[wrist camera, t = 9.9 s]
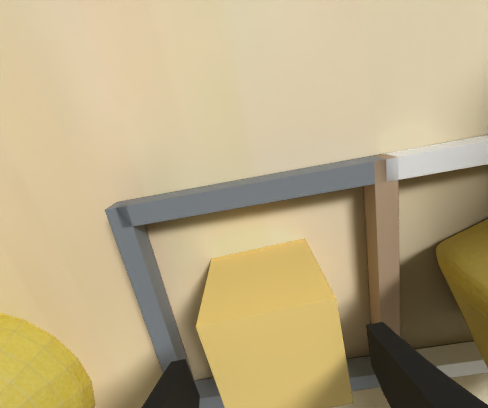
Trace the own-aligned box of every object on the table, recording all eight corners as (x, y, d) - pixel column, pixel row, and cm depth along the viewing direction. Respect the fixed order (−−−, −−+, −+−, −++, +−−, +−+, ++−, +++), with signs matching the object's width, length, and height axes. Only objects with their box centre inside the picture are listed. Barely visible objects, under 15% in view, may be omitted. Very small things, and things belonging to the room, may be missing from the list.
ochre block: (304, 237, 14) (336, 298, 9) (319, 315, 15) (353, 403, 11) (211, 257, 14) (195, 327, 10) (234, 332, 16) (231, 424, 11)
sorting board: (659, 103, 12) (703, 102, 11) (597, 336, 16) (625, 354, 15) (116, 202, 13) (104, 209, 12) (182, 394, 17) (178, 414, 16)
